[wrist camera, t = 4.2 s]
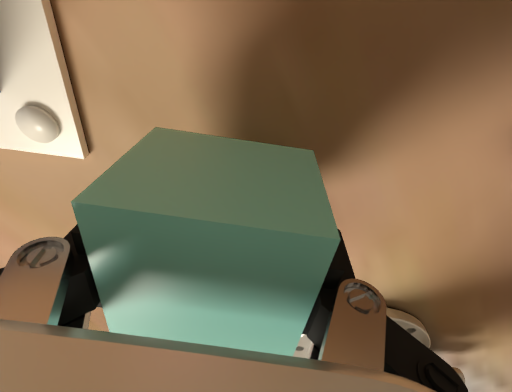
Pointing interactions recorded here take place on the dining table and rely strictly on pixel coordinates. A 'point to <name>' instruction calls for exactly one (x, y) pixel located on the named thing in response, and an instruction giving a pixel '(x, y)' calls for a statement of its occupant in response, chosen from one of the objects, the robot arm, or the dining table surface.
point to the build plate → (36, 84)
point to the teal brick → (209, 240)
